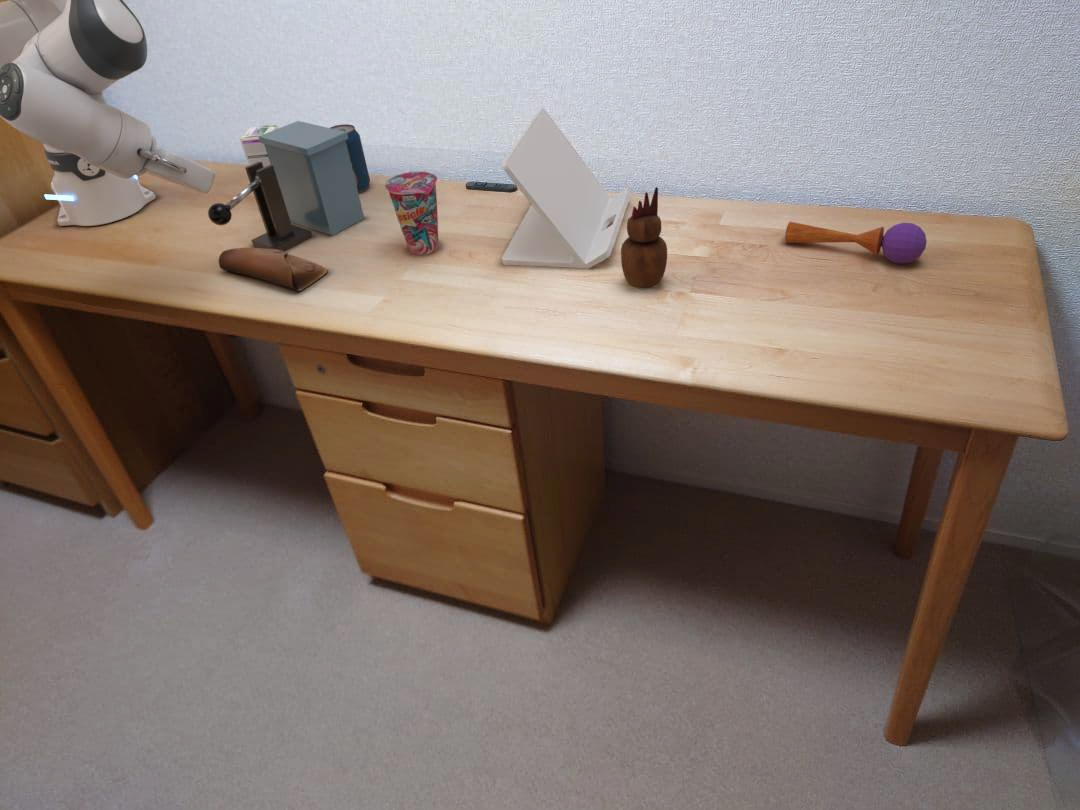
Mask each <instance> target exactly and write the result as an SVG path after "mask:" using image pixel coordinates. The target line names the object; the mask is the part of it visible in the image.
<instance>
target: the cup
mask: <svg viewBox="0 0 1080 810" xmlns="http://www.w3.org/2000/svg"><path fill="white" fill-rule="evenodd" d="M437 177H438V176H436V175H435V174H434V173H431V172H428V171H409V172H404V173H401V174H398V175H395V176H393V177H391V178H390V179H388V180H387V181H386V182H385V189H386V190H387V191H388V194H389V197H390V200H391V203H392V207H393V209H394V212H395V215H396V219H397V221H398V223H399V227H400V229H401V232H402V235H403V237H404V239H405V243H406V245H407V248H408V251H409V252H410V254H412V255H416V256H425V255H430V254H432V253H434V252H436V251H437V250H438V249H439V246H440V245H439V244H440V242H439V221H438V220H439V218H438V217H439V216H438V200H437V184H436V183H437V181H438V178H437Z"/></svg>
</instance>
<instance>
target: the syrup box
mask: <svg viewBox="0 0 1080 810" xmlns="http://www.w3.org/2000/svg"><path fill="white" fill-rule="evenodd" d="M278 128H279V126H278V125H271V124H269V125H268V124H267V125H257V126H253V127H249V128H248V130H247V131H246V132H245V133H244V134H243V135H242V136H241V137H240V138H239V141H240V144H241V147H242V150H243V153H244V156H245V158H246V161H247V165H248V166H250V165H252V164H255V163H257V162H262V164H263V167H266V166H268V165H271V164H270V161H269V158H268V155H267V152H266V148H265V145H264V144H263V143H260V140H259V136H261V135H263V134H266V133H268V132H271V131H273V130H276V129H278Z"/></svg>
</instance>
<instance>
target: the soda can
mask: <svg viewBox="0 0 1080 810" xmlns="http://www.w3.org/2000/svg"><path fill="white" fill-rule="evenodd" d="M329 128H331V129H336V130H340V131H344V132H347V135H348V139H346V144H347V148H348V153H349V157H350V161H351V165H352V169H353V173H354V177H355V181H356V185H357V189H358V194H360V193H363V192H365V191H366V190H368V188H369V185H370V182H371V178H370V173H369V169H368V166H367V165H368V164H367V161H366V157H365V156H366V155H365V151H364V148H363V144H362V139H361V135H360V133H359V132H358V131H357V130H356V127H355V126H354V125H352V124H347V123H346V124H337V125H333V126H331V127H329Z"/></svg>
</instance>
